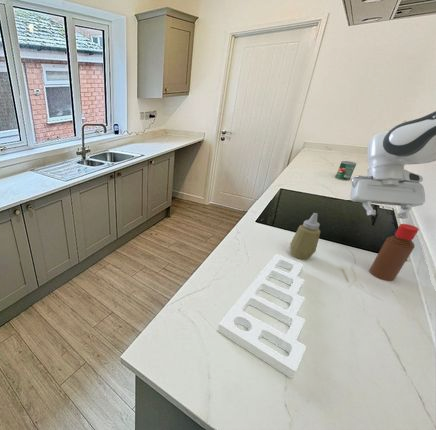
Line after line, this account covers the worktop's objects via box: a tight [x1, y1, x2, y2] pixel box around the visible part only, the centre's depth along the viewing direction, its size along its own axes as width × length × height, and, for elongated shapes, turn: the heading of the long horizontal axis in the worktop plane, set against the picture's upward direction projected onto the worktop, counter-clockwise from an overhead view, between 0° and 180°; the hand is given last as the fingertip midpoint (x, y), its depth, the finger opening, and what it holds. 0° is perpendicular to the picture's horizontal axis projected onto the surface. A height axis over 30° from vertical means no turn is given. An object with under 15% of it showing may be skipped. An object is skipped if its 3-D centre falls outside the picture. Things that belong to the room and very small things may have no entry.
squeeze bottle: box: [289, 212, 321, 261], centre depth 96 cm, size 8×8×18 cm
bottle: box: [368, 234, 415, 282], centre depth 85 cm, size 6×6×19 cm
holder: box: [216, 253, 307, 379], centre depth 78 cm, size 45×18×3 cm, turn 134°
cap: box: [394, 223, 419, 241], centre depth 81 cm, size 4×4×4 cm
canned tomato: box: [335, 160, 357, 181], centre depth 175 cm, size 8×8×11 cm
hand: (386, 216), depth 88 cm, fingers open, 8 cm apart
